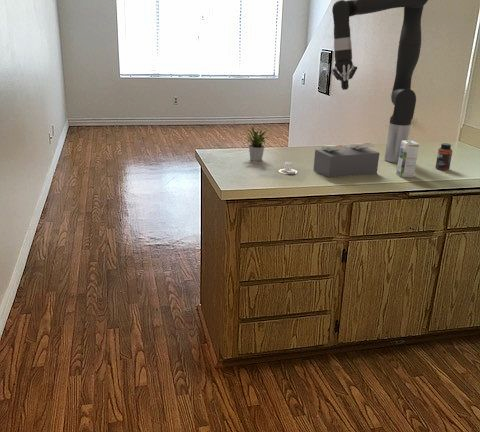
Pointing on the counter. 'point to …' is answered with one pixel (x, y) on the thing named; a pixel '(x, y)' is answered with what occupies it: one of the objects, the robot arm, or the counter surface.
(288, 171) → the teacup and saucer
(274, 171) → the counter surface
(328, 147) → the sage rocker
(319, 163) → the switch box
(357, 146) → the white flat box
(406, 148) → the syrup box
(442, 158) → the supplement bottle
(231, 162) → the counter surface
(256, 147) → the house plant
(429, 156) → the counter surface
